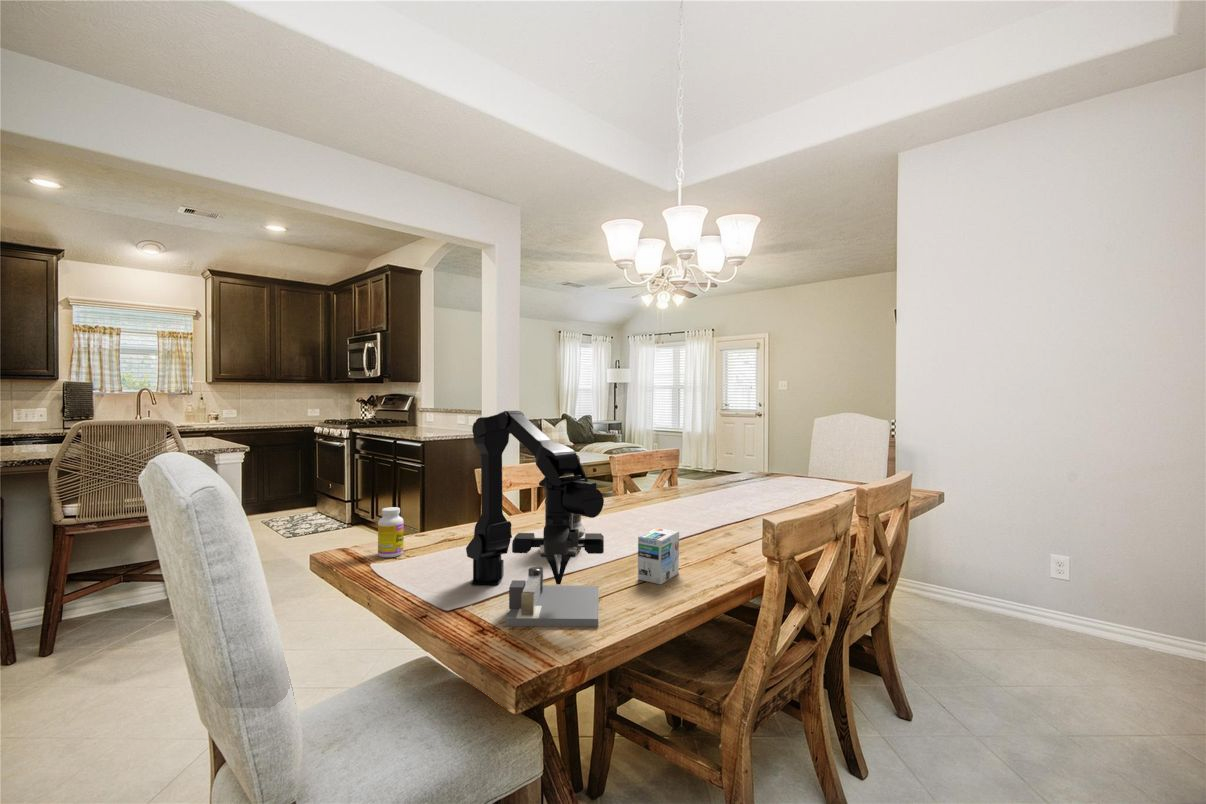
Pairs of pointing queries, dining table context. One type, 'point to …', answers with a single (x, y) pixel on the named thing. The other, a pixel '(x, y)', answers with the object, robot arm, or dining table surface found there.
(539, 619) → the plate
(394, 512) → the supplement bottle
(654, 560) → the light bulb box
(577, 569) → the dining table surface
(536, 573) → the bar
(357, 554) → the dining table surface
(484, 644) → the dining table surface
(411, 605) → the dining table surface
